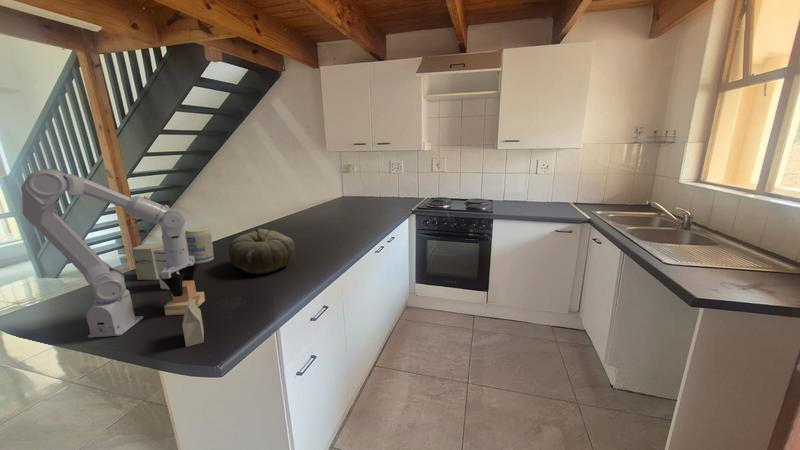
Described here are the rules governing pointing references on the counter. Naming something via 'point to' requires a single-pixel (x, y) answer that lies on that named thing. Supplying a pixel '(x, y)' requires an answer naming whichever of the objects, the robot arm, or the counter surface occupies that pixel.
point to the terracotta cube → (186, 292)
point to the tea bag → (192, 325)
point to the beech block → (183, 305)
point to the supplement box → (146, 261)
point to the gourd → (261, 251)
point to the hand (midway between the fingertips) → (183, 291)
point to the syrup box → (160, 265)
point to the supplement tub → (200, 244)
